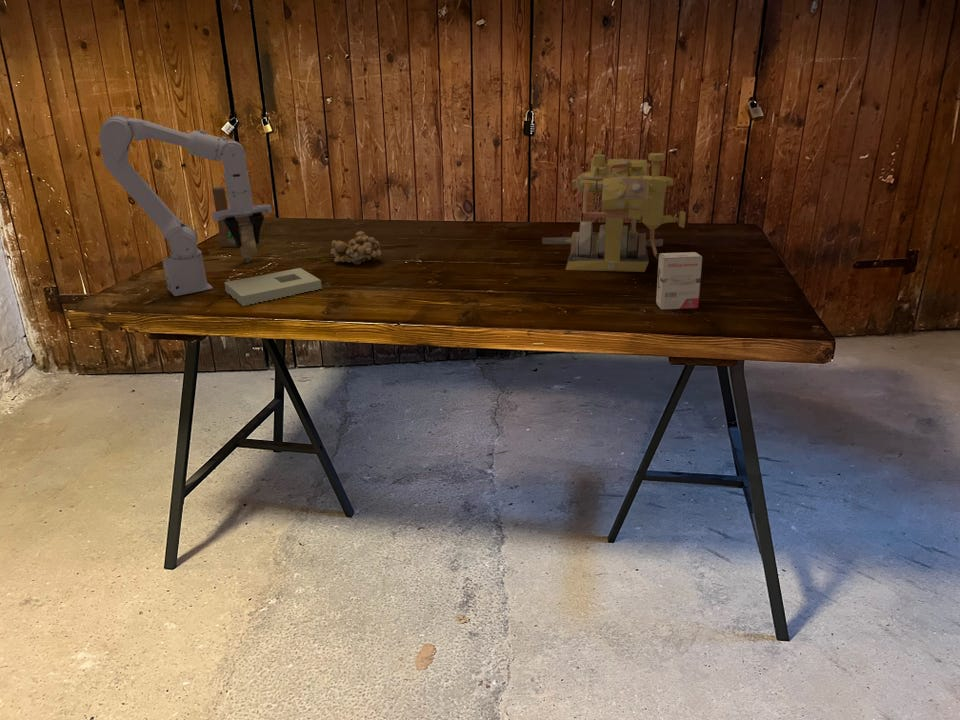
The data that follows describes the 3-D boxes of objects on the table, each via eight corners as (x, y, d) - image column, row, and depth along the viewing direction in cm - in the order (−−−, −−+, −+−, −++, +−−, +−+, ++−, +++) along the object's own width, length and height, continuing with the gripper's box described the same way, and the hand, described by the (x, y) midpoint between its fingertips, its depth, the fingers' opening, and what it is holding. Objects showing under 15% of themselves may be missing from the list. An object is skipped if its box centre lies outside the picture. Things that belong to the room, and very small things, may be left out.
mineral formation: (368, 252, 212) (395, 259, 201) (329, 268, 205) (354, 276, 194) (361, 226, 208) (388, 231, 197) (321, 242, 202) (346, 248, 191)
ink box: (691, 301, 165) (696, 250, 160) (698, 308, 160) (703, 256, 155) (654, 302, 164) (658, 252, 160) (660, 310, 160) (664, 258, 155)
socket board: (243, 306, 170) (241, 296, 169) (225, 291, 181) (224, 282, 180) (322, 289, 180) (320, 280, 179) (301, 276, 191) (300, 267, 190)
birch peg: (244, 258, 183) (239, 227, 180) (239, 255, 186) (234, 224, 183) (259, 255, 185) (254, 225, 182) (254, 252, 188) (249, 222, 185)
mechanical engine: (683, 288, 173) (695, 160, 161) (532, 283, 180) (533, 160, 168) (676, 246, 208) (685, 139, 196) (550, 244, 215) (551, 140, 203)
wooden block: (252, 247, 222) (243, 188, 214) (219, 247, 223) (209, 188, 216) (257, 244, 225) (248, 186, 218) (224, 244, 226) (214, 186, 219)
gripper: (214, 197, 172) (224, 252, 178) (272, 189, 180) (280, 242, 185) (205, 193, 178) (215, 247, 183) (263, 185, 185) (270, 237, 190)
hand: (247, 244), depth 184 cm, fingers closed on birch peg, 4 cm apart
